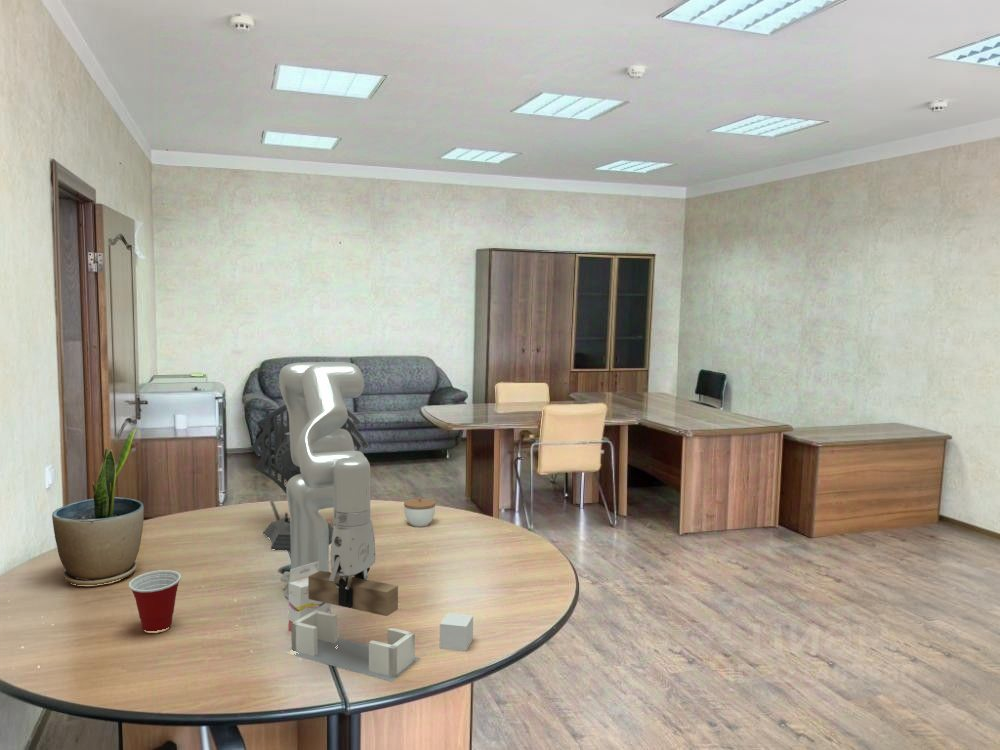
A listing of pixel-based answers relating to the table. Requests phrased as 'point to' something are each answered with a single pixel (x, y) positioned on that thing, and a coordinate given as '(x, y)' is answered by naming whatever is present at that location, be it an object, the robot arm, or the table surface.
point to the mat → (347, 657)
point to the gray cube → (456, 631)
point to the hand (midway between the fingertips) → (352, 601)
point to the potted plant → (100, 529)
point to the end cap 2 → (392, 653)
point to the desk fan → (288, 466)
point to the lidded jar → (419, 511)
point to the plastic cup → (155, 598)
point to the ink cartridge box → (303, 594)
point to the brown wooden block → (355, 593)
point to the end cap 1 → (313, 631)
